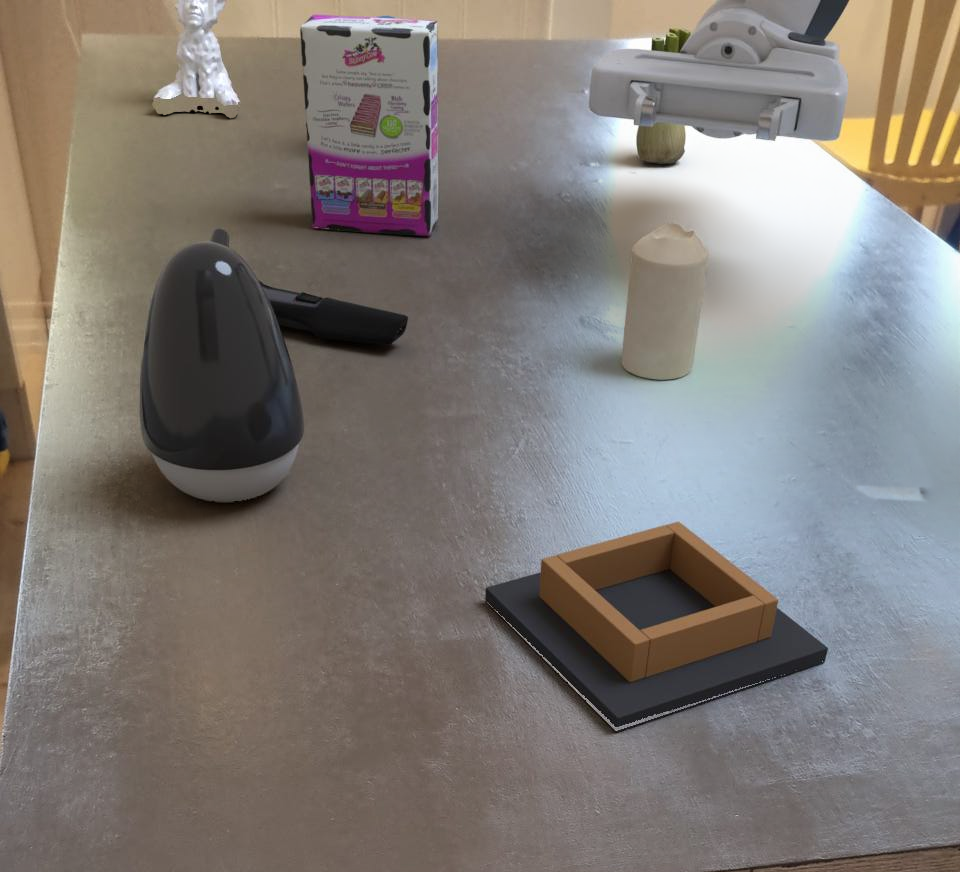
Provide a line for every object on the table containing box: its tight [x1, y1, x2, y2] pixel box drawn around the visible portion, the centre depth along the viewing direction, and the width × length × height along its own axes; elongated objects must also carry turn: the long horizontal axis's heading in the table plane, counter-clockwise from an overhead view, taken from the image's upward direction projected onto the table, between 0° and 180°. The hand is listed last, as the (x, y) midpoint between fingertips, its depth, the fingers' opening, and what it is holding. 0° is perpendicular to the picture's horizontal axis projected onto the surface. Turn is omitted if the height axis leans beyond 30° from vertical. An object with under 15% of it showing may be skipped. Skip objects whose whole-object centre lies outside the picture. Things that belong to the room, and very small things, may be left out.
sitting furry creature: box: [153, 0, 241, 106], centre depth 148 cm, size 10×9×12 cm
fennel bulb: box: [635, 27, 692, 165], centre depth 138 cm, size 6×5×12 cm
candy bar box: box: [299, 14, 440, 237], centre depth 120 cm, size 11×5×16 cm, turn 82°
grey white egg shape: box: [139, 227, 305, 503], centre depth 85 cm, size 10×10×15 cm
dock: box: [484, 521, 829, 733], centre depth 77 cm, size 14×14×4 cm
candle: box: [621, 222, 709, 381], centre depth 102 cm, size 6×6×10 cm
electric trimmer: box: [259, 280, 409, 346], centre depth 107 cm, size 4×16×3 cm, turn 66°
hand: (704, 121), depth 104 cm, fingers open, 8 cm apart
